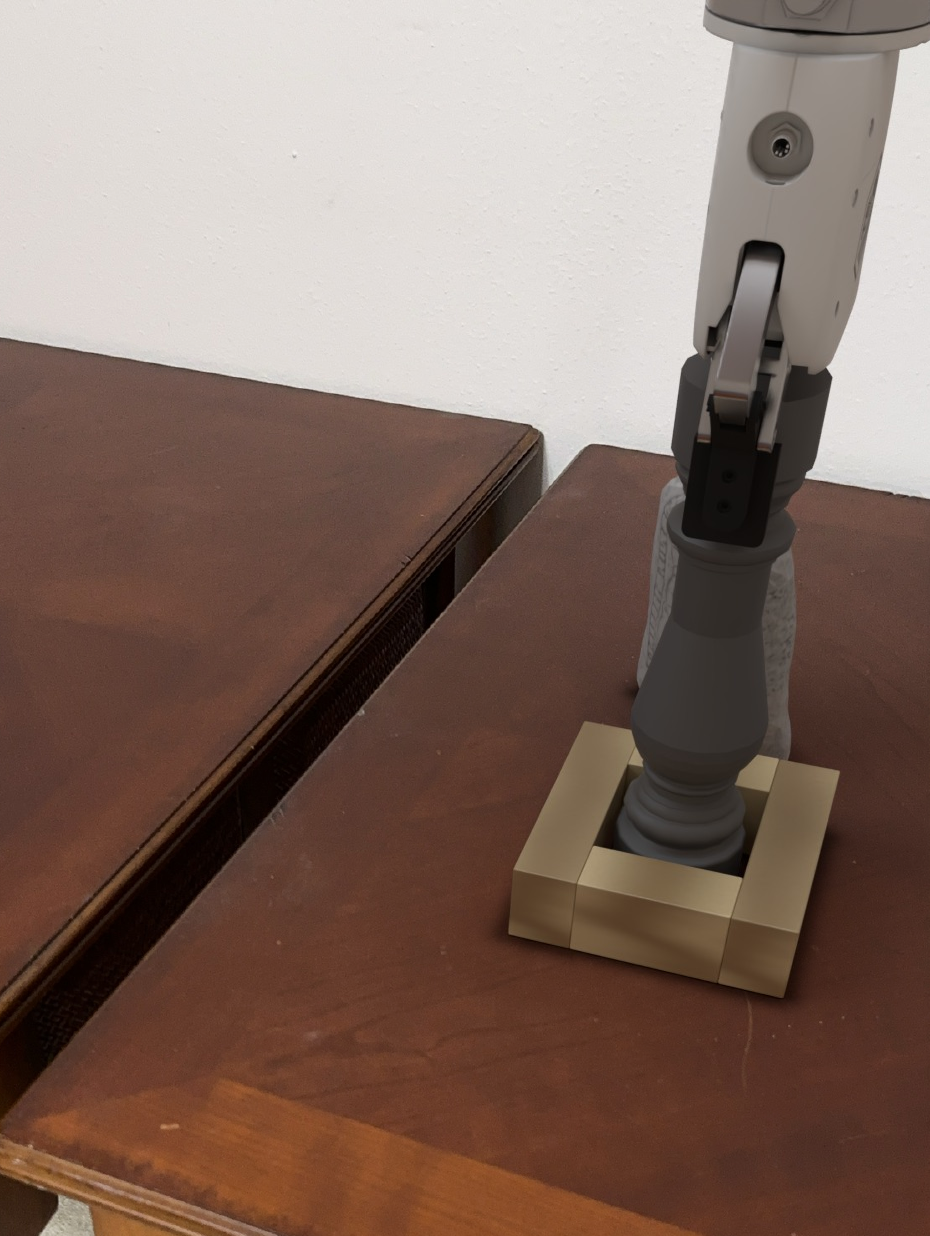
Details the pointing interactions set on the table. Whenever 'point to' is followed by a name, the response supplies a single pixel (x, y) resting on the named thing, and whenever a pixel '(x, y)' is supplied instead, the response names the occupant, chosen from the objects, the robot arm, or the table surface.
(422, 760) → the table surface
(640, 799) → the candle holder
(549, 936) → the socket stand
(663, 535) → the decorative stone
